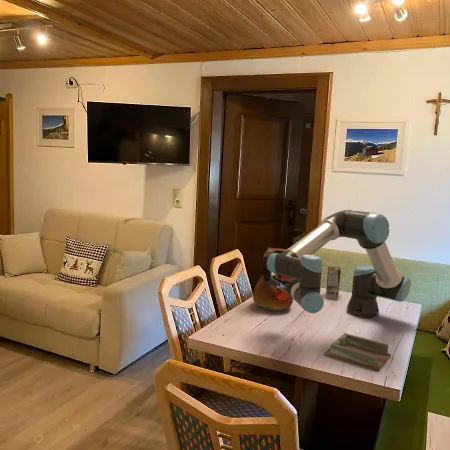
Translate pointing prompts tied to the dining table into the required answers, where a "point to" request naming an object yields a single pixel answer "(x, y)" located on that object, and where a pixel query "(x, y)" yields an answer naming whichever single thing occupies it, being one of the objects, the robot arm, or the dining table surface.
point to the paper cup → (283, 293)
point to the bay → (359, 351)
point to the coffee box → (333, 283)
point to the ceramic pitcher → (269, 287)
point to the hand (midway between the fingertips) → (281, 275)
